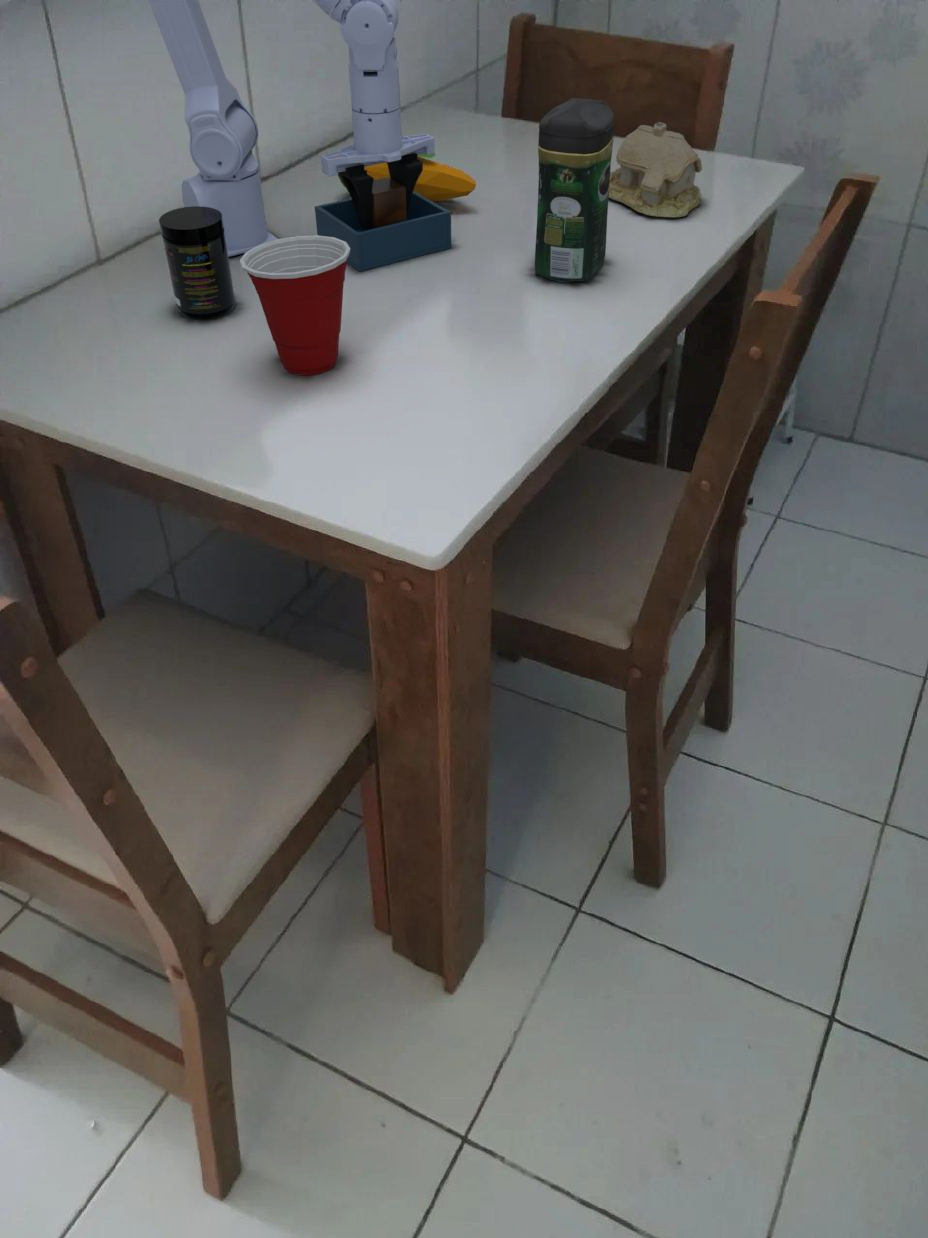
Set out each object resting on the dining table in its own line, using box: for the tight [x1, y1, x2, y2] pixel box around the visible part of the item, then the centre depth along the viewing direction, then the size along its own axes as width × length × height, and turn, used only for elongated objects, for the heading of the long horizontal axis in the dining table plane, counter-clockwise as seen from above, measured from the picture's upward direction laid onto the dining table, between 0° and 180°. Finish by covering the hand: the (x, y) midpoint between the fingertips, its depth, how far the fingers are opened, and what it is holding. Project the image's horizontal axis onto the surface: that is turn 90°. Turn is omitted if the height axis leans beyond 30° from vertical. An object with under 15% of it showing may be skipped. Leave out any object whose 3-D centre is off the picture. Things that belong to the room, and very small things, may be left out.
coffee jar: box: [534, 97, 616, 283], centre depth 123 cm, size 10×8×19 cm
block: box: [360, 177, 407, 232], centre depth 132 cm, size 4×4×6 cm
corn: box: [337, 153, 477, 202], centre depth 143 cm, size 7×8×20 cm
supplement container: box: [158, 206, 236, 321], centre depth 118 cm, size 7×7×10 cm
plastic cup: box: [239, 234, 350, 376], centre depth 107 cm, size 11×11×12 cm
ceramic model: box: [608, 121, 703, 218], centre depth 142 cm, size 14×11×10 cm
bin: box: [314, 190, 452, 272], centre depth 133 cm, size 13×11×4 cm
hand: (383, 222), depth 133 cm, fingers closed on block, 4 cm apart
